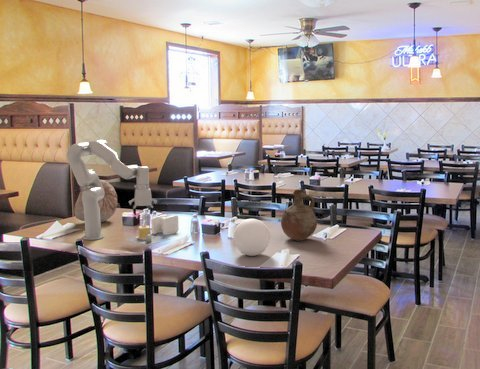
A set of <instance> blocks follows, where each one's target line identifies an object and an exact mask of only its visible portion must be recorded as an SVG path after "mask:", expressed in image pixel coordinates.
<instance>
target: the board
mask: <svg viewBox="0 0 480 369" xmlns="http://www.w3.org/2000/svg"><path fill="white" fill-rule="evenodd" d="M168 240H170V238H168V237H162V236H158V235H157V236H156V235H154V234H153V235H152V234H150V235H146V238H140V237H139V235H138V236H134V237H130V238H125V239H124V241H126V242H130V243H135V244H140V245H144V246H150V245H154V244H155V245H156V244H159V243H163V242H166V241H168Z"/></svg>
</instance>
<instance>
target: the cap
mask: <svg viewBox="0 0 480 369" xmlns="http://www.w3.org/2000/svg"><path fill="white" fill-rule="evenodd" d="M146 235H151V227H150V225H140V226H139V225H138V236H139V237H140V238H146Z"/></svg>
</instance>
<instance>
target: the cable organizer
mask: <svg viewBox="0 0 480 369" xmlns="http://www.w3.org/2000/svg"><path fill="white" fill-rule="evenodd" d="M150 224H151V235H152V234H153V235H155V234H161V233H162V235H164V236H166V235H174V234H177V233H178V232H179V216H178V215H175V214H174V215H170V216H169V215H168V214H165V213H164V214H161V215H157V216H154V217H152V218H151V223H150Z"/></svg>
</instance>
